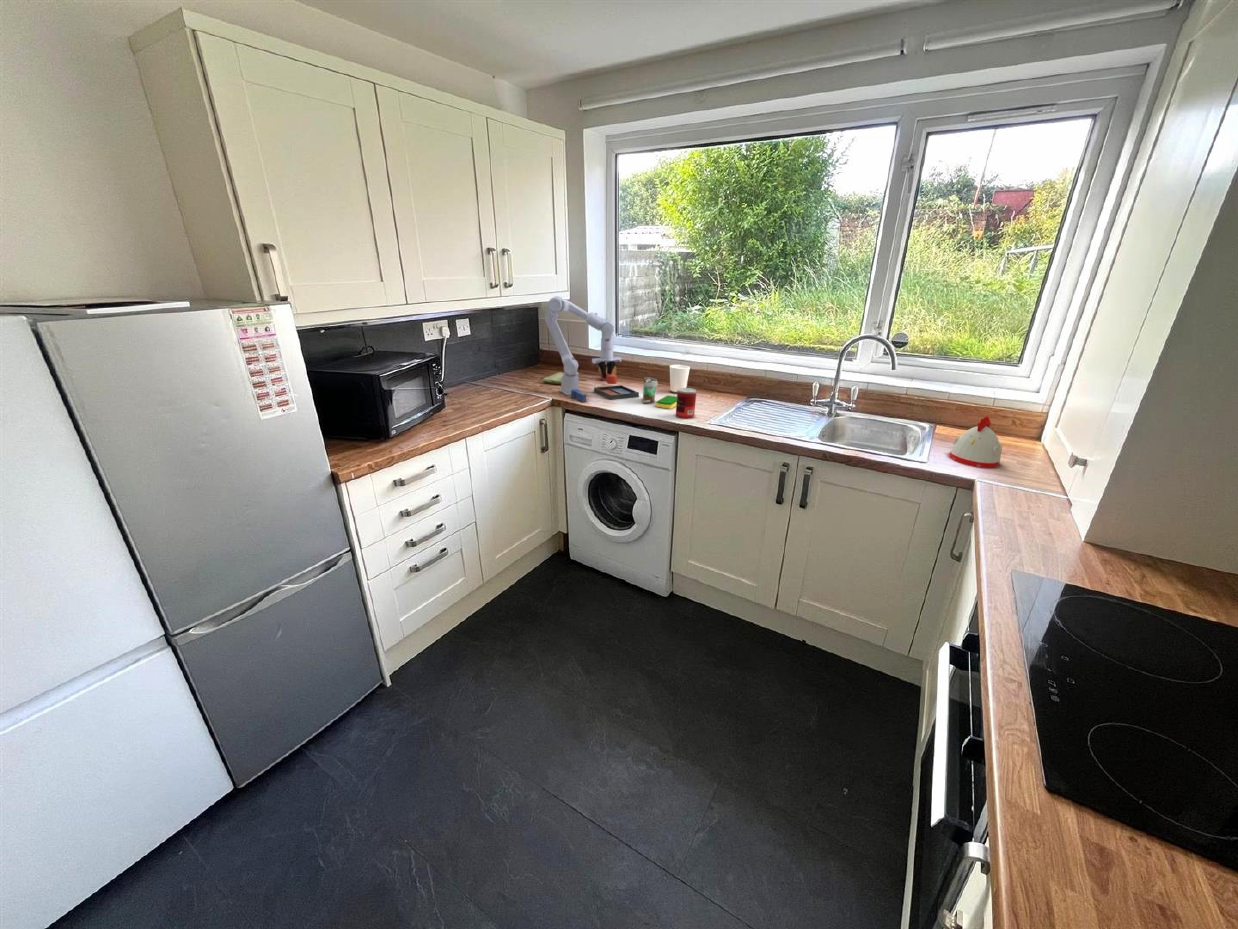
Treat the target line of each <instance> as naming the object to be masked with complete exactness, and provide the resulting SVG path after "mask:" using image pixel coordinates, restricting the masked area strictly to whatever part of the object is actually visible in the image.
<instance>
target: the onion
mask: <svg viewBox="0 0 1238 929" xmlns="http://www.w3.org/2000/svg"><path fill="white" fill-rule="evenodd" d="M605 363H606V362H605ZM606 364H607V363H606ZM606 373H607V368H606ZM598 375H599V377H600V378H601V369H600V367H599V366H598ZM611 375H616V376H617V366H615V367H614V369H613V371H612V374H611Z"/></svg>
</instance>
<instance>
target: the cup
mask: <svg viewBox="0 0 1238 929" xmlns="http://www.w3.org/2000/svg"><path fill="white" fill-rule="evenodd" d="M690 369H691V367H690V366H689V365H685V364H672V365H669V390H670V392H671V393H673V394H677V391H678V389H679V388H687V386H688V381H689V379H688V378H689V375H690Z"/></svg>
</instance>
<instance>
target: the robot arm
mask: <svg viewBox="0 0 1238 929" xmlns="http://www.w3.org/2000/svg"><path fill="white" fill-rule="evenodd" d="M561 311H562V312H571V313H572V314H574V315H577V316H578V317H580V318H582V319H583V320H585V324H586V325H588V326H589V327H591V328H593V329H595V330H596V331H600V332H601V338H600V357H596V358H594V357H593V358H591V363H592V364H597V365H598V368H599V367H600V369H601V373H602V378H606V368H607V373H608V374H612V371H613V369H614V367H616V365H617V363H622V357H621V356H620V357H619V356H614V332H615V326H614V324H613V322H611V321H610V320H608V319H607V318H603V317H602V316H600V315H599V313H597V312H587V311H586V310H584V309H583V308H581V307H580V306H578V305H576V304H574V303H573V302H571V301H569V300H567V299H565V298H563V297H560V296H554V297H551V298H550V299H549V300H548V301H547V304H546V306H545V316H544V322H545V324H546V326H547V329H548V330H549V333H550V335H551V338H552V340H553V341H554V343H555V346H556V348H557V351H558V353H559V356H560V357H561V362H562V364H563V373H564V374H563V375H562V377H561V385H560V389H559V392H561V393H562V394H564V395H566V396H571V390H573V389H579V390H580V373H579V372H578V369H579V362H578V360H576V359H575V357H574V355H573V354H572V352H571V350H570V348H569V346H568V344H567V341H566V339H565V336H564V335H563V333H562V329H561V328H560V325H559V323H558V320H557V319H558V317H559V314H560V313H561ZM605 362H606V363H607V364H606V363H605Z"/></svg>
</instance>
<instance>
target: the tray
mask: <svg viewBox="0 0 1238 929" xmlns="http://www.w3.org/2000/svg"><path fill="white" fill-rule="evenodd" d="M593 392H594V393H596V394H598V395H600V396H602V397H604V398H605V399H608V400H610V401H612V400H613V401H614V400H622V399H623V400H624V399H634V398H639V397H640V393H639V391H636V390H634V389H632V388H630V387H627V386H626V385H625V386H624V385H622V384H619V385H607V386H595V387H593Z"/></svg>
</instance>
